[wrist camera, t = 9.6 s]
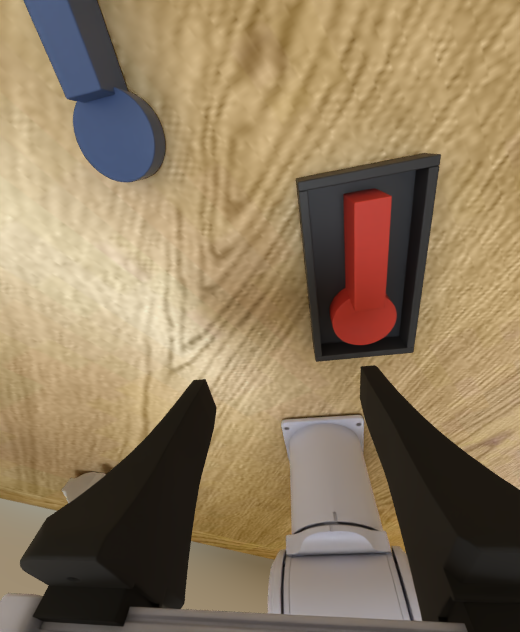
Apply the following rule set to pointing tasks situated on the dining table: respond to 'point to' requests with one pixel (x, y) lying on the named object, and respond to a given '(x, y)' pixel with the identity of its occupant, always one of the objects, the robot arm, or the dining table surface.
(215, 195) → the dining table surface
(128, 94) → the blue spoon
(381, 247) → the red spoon
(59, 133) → the dining table surface
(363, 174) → the tray
